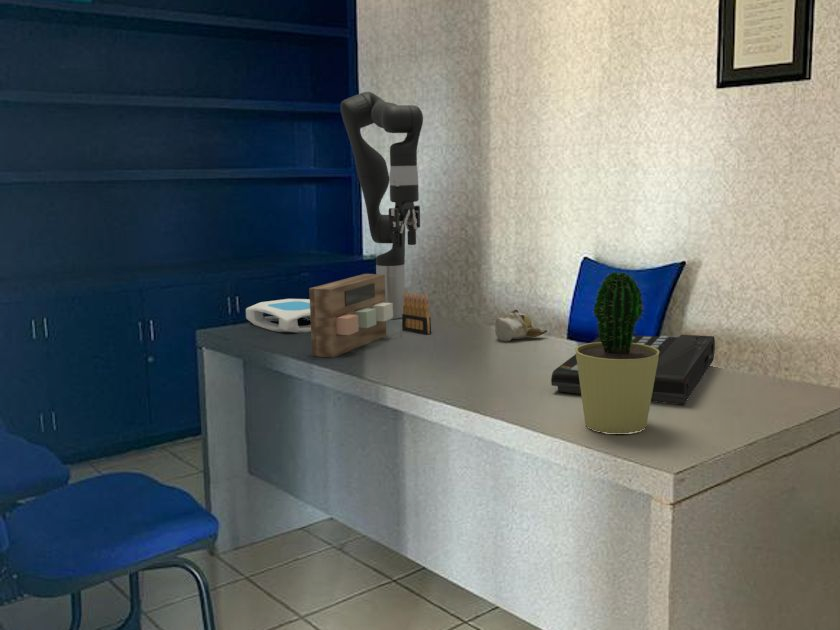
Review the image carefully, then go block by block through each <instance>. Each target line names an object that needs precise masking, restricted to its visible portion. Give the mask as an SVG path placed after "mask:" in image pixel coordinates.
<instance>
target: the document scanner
mask: <svg viewBox="0 0 840 630" xmlns="http://www.w3.org/2000/svg"><path fill="white" fill-rule="evenodd" d="M264 314H268V315H269V316H265V315H264ZM270 315H271V316H270ZM245 318H246V320H248V321H249V322H250V323H251V324H253V325H254V326H256V327H260V328H262V329H266V330H269V331H272V332H278V333H294V334H296V333H297V334H303V333H309V332H310V333H311V324H306V325H299V323H298V320H300V318H306V319H307V320H306V319H305V320H306V321H309V320H310V322H311V318H310V298H308V299H307V298H284V299H276V300H269V301H261V302H258V303H256V304H253V305H251V306H250V305H249V306H248V307H246V308H245ZM270 321H275V322H278V323H275V322H270Z"/></svg>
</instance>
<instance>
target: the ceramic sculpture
mask: <svg viewBox="0 0 840 630" xmlns="http://www.w3.org/2000/svg"><path fill="white" fill-rule="evenodd" d="M494 329H495V330H494V331H495V336H496V338H498V340H499V341H501V342H511V340H512V339H513V340H524V339H526V338H527V337H528V338H529V337H530V338H537V337H540V336H542V335H544V334H546V333H547V332H548V330H547V329H541V328H538V327H533V325H532V319H531V318H530V316H529V315H527V314H525V313H519V310H517V309H515V310H511V311H510V312H509V313H508V315H507V317H505V318H503V317H500V316H497V317H496V319H495V325H494Z"/></svg>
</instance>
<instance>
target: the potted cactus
mask: <svg viewBox="0 0 840 630" xmlns="http://www.w3.org/2000/svg"><path fill="white" fill-rule="evenodd" d="M631 273H632V272H631V271H630V272H629V273H626V272H623V271H622V272H617V271H612V272H611V273H610V272H609V271H608V273H606V277H603V279H600V281H599V280H598V281H597V283H599V284H601V287H600V288H598V287H597V292H596V294H595V295H596V296H593V299H595V301H593V302H592V303H594V305H592V307H593V313H592V314H591V315H592V316H591V318H592V317H595V318H596V320H597V321H596V324H597V328H595V331H597V330H598V331H597V332H596V335H597V334H598V335H597V336H596V338H598V337H600V339H601V340H600V341H601V342H598V341H597V342H596V343H591V342H589V343H584V344H581V345H580V344H579V345H578V346H577V347H575V348H574V352H575V354H576V359H577V366H578V373H579V381H580V388H581V394H580V395H581V396H580V397H581V402H582V409H583V416H584V424H585V426H586V425H587V427H589V428H591V429H593V430H596V431H600V432H607V433H629V432H635V431H640V430H642V429H644V428H645V427H646V428H647V425H648V418H649V415H650V407H651V402H652V401H651V397H652V391H653V386H654V380H655V375H656V369H657V364H658V358H659V350H658V349H656V348H654V347H651V346H648V345H643V344H637V343H632V342H633V341H632V337H633V335H637V336H639V334H638V332H637V331H636V328H635V327H637V325H638V324H639V322H640V319H641V320H644V317H643V316H642V315H643V314H644V315H646V313H645V312H643V310H647V309H646V308H647V306H645V305H646V303H643V302H644V299H643V297H644V296H643V295H642V293H643V291H640V290H641V289H643V286H642V287H640V286H638V285H639V283H640V280H638V281H637V280H634V278H632V276H633V274H631ZM639 325H640V324H639ZM587 427H586V428H587Z"/></svg>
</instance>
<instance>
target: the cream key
mask: <svg viewBox="0 0 840 630" xmlns="http://www.w3.org/2000/svg"><path fill="white" fill-rule="evenodd" d="M372 309H376V321H383V322H384V321H386V322H387V321H389V320H393V319H392V318H393V303H382V302H379V303H376V304H373V305H372Z"/></svg>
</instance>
